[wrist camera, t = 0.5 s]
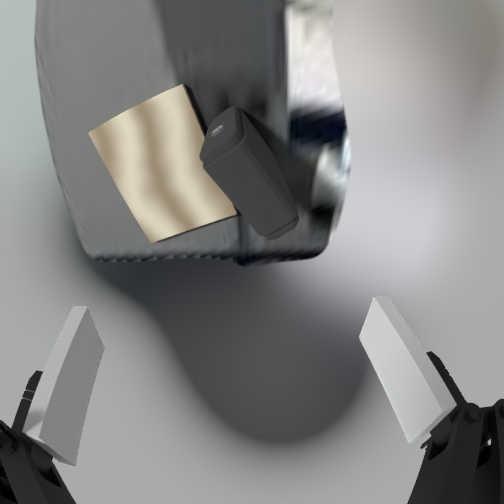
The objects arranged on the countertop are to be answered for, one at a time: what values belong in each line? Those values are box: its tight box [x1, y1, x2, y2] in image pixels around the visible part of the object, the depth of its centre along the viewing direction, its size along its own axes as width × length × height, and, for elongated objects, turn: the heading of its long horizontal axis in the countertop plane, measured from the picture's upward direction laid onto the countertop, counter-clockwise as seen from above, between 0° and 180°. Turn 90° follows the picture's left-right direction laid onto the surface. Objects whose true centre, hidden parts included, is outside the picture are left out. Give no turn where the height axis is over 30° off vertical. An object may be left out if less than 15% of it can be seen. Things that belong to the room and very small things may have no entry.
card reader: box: [199, 106, 299, 240], centre depth 26 cm, size 9×4×15 cm, turn 34°
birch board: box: [89, 84, 237, 243], centre depth 33 cm, size 13×18×1 cm
